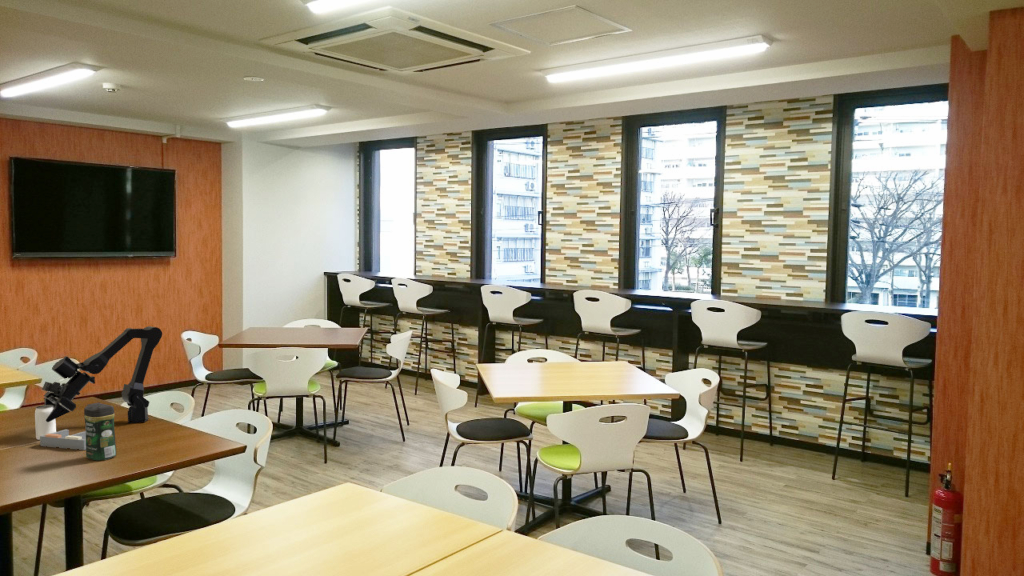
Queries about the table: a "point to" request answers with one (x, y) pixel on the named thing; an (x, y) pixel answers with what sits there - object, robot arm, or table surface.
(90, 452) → the coffee jar
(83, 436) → the dock
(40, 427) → the can
